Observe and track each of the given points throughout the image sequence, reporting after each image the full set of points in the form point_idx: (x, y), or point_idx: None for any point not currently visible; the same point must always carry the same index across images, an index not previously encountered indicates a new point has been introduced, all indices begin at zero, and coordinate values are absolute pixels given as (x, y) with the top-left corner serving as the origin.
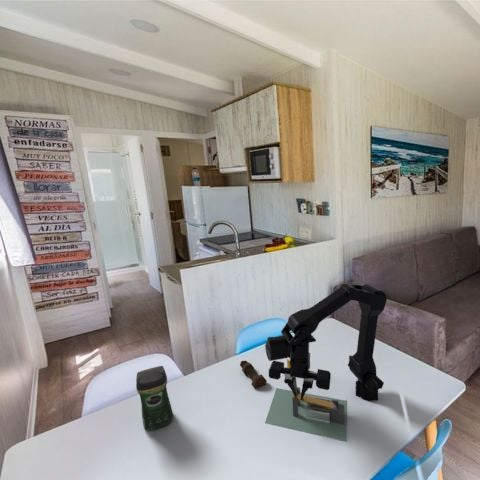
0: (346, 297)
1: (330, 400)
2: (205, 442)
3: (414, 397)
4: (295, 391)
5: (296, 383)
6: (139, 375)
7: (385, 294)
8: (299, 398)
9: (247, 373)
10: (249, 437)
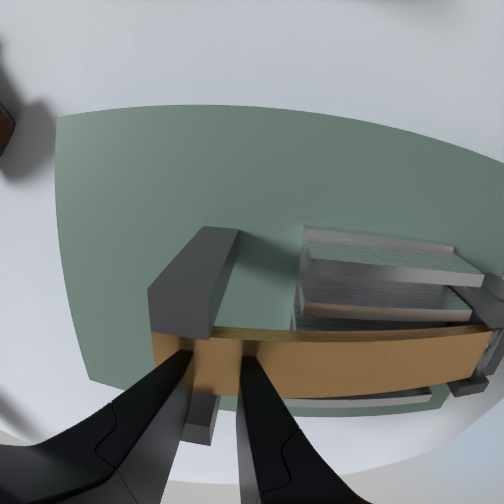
0: None
1: (454, 172)
2: (11, 399)
3: None
4: (171, 462)
5: (142, 436)
6: None
7: None
8: (224, 386)
9: None
10: (78, 405)
